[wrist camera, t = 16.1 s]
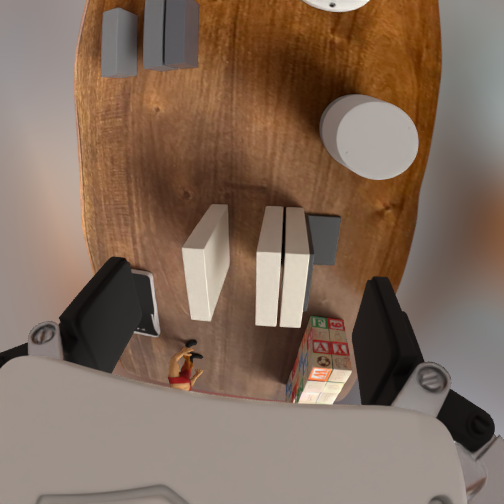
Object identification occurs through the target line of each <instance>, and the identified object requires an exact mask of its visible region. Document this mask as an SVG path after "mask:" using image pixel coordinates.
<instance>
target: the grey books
mask: <svg viewBox="0 0 504 504" xmlns="http://www.w3.org/2000/svg"><path fill="white" fill-rule="evenodd" d="M198 31H199V4H198V3H197V2H196V1H195V0H145V14H144V38H143V68H144V69H150V70H156V71H161V72H162V71H170V70H178V68H179V69H187V68H198ZM137 34H138V16H137V15H135V14H133V13H130V12H128V11H126V10H124V9H121V8H119V7H118V8H115V9H112V10H109V11H105V12H103V23H102V43H101V77H111V78H126V77H131V76H136V75H137Z"/></svg>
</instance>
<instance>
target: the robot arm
mask: <svg viewBox="0 0 504 504" xmlns="http://www.w3.org/2000/svg"><path fill="white" fill-rule="evenodd" d="M302 1H303V2H305V3H306V4H308V5H311V6H313V7H315V8H318V9H322V10H325V11H332V12H345V11H351V10H354V9H358V8H360V7H361V6H363V5H365V4H366V3H367V2H368V1H369V0H302ZM330 5H332V6H333V8H332V7H330ZM141 318H142V311H141V307H140V303H139V300H138V296H137V292H136V288H135V284H134V279H133V275H132V271H131V266H130V263H129V262H127V260H126V259H125V258H122V257H111V258H110V259H109V260H108V261H107V262H106V263H105V264H104V265H103V266H102V268H101V269H100V270H99V271H98V272H97V273H96V274H95V275H94V277H93V278H92V279H91V280H90V281H89V282H88V283H87V285H86V286H85V287H84V288H83V289H82V290H81V292H80V293H79V294H78V295H77V296H76V297H75V299H74V300H73V301H72V302H71V304H70V305H69V306H68V307H67V308H66V310H65V311H64V312H63V313H62V315H61V316H60V317H59V319H60V324H59V325H58V324H57V323H55V322H52V321H46V322H42V323H40V324H38V325H36V326H35V327H34V328H33V329H32V330H31V332H30V333H29V336H28V343H25V344H22V345H20V346H18V347H14V348H12V349H9V350H7V351H4V352H1V353H0V504H504V439H503V438H502V437H501V436H500V435H499V436H498V437H496V436H495V434H494V431H495V426H494V422H493V419H492V418H491V417H490V415H489V414H488V413H486V411H484V410H482V409H481V408H479V407H478V406H476V405H475V404H473V403H472V402H470V401H468V400H467V399H465V398H464V397H462V396H461V395H459V394H457V393H456V392H454V391H453V390H451V389H450V387H451V377H450V375H449V373H448V372H447V370H446V369H445V368H444V367H442V366H441V365H439V364H437V363H434V362H424V359H423V356H422V354H421V351H420V348H419V345H418V343H417V340H416V337H415V334H414V332H413V329H412V326H411V324H410V321H409V319H408V316H407V314H406V313H405V312H404V311H402V310H401V308H400V305H399V303H398V300H397V298H396V295H395V293H394V290H393V288H392V286H391V283H390V281H389V279H388V278H387V277H375V276H374V277H373V278H372V280H368V281H367V283H366V287H365V291H364V294H363V298H362V301H361V305H360V309H359V312H358V315H357V319H356V322H355V325H354V329H353V332H352V343H353V349H354V355H355V361H356V368H357V374H358V381H359V389H360V396H361V404H362V405H330V404H304V403H286V402H272V401H261V400H251V399H242V398H233V397H226V396H218V395H211V394H204V393H199V392H193V391H187V390H181V389H176V388H171V387H165V386H160V385H156V384H151V383H147V382H142V381H138V380H133V379H130V378H125V377H122V376H118V375H114V374H111V373H112V371H113V369H114V368H115V366H116V364H117V362H118V360H119V358H120V356H121V355H122V353H123V351H124V349H125V347H126V345H127V344H128V342H129V340H130V338H131V336H132V335H133V333H134V331H135V329H136V328H137V326H138V324H139V322H140V320H141Z"/></svg>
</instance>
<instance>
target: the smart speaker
mask: <svg viewBox="0 0 504 504" xmlns="http://www.w3.org/2000/svg"><path fill="white" fill-rule="evenodd" d="M319 131H320V137H321V140H322V143H323V145H324V147H325V149H326V150H327V152H328V153H329V154H330V155H331V156H332V157H333V158H334V159H335V160H336V161H338V162H339V163H341V164H342V165H344V166H345V167H347V168H349V169H350V170H352V171H353V172H355V173H357V174H358V175H361V176H363V177H366V178H369V179H378V180H379V179H388V178H392V177H395V176H397V175H399V174H401V173H402V172H404V171H405V170H406V169H407V168H408V167H409V166H410V165H411V164H412V162H413V161H414V159H415V156H416V154H417V150H418V134H417V131H416V128H415V126H414V124H413V122H412V120H411V119H410V118H409V116H408V115H407V114H406V113H405V112H404V111H402V110H401V109H400V108H398V107H396V106H394V105H392V104H390V103H387V102H384V101H382V100H379V99H376V98H373V97H370V96H366V95H360V94H350V95H345V96H342V97H339V98H337V99H336V100H334V101H333V102H331V103H330V104H329V105H328V106H327V108H326V109H325V110H324V112H323V114H322V117H321V120H320V126H319Z"/></svg>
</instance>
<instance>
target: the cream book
mask: <svg viewBox="0 0 504 504" xmlns="http://www.w3.org/2000/svg"><path fill="white" fill-rule="evenodd" d="M182 254H183V263H184V271H185V279H186V286H187V293H188V300H189V307H190V314H191V319H193V320H202V321H211V318H212V315H213V312H214V309H215V306H216V303H217V300H218V297H219V294H220V291H221V288H222V285H223V282H224V279H225V277H226V274H227V271H228V268H229V265H230V254H229V222H228V205H225V204H211V206H210V207H209V209H208V210H207V211H206V213H205V214H204V216H203V217H202V219H201V220H200V222H199V223H198V224H197V226H196V227H195V229H194V230H193V232H192V233H191V235H190V236H189V238H188V239H187V241H186V242H185V244H184V245H183V247H182Z"/></svg>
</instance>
